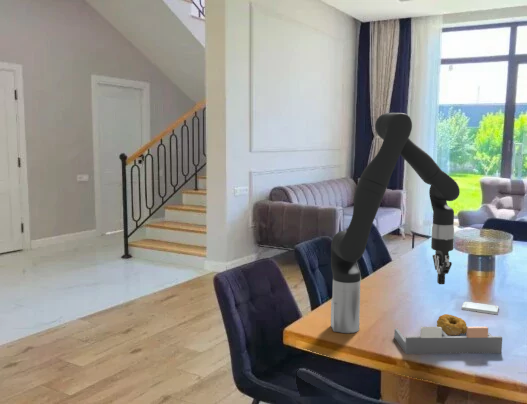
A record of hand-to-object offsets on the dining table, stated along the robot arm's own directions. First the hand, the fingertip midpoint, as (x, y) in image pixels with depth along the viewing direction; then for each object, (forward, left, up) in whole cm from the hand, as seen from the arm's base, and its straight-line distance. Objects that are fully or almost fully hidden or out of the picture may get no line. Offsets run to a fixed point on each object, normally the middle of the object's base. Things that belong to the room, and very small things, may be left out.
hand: (441, 283), depth 187 cm
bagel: (-1, -13, -13) cm, 18 cm away
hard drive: (+19, +9, -13) cm, 25 cm away
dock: (-7, -25, -12) cm, 29 cm away
